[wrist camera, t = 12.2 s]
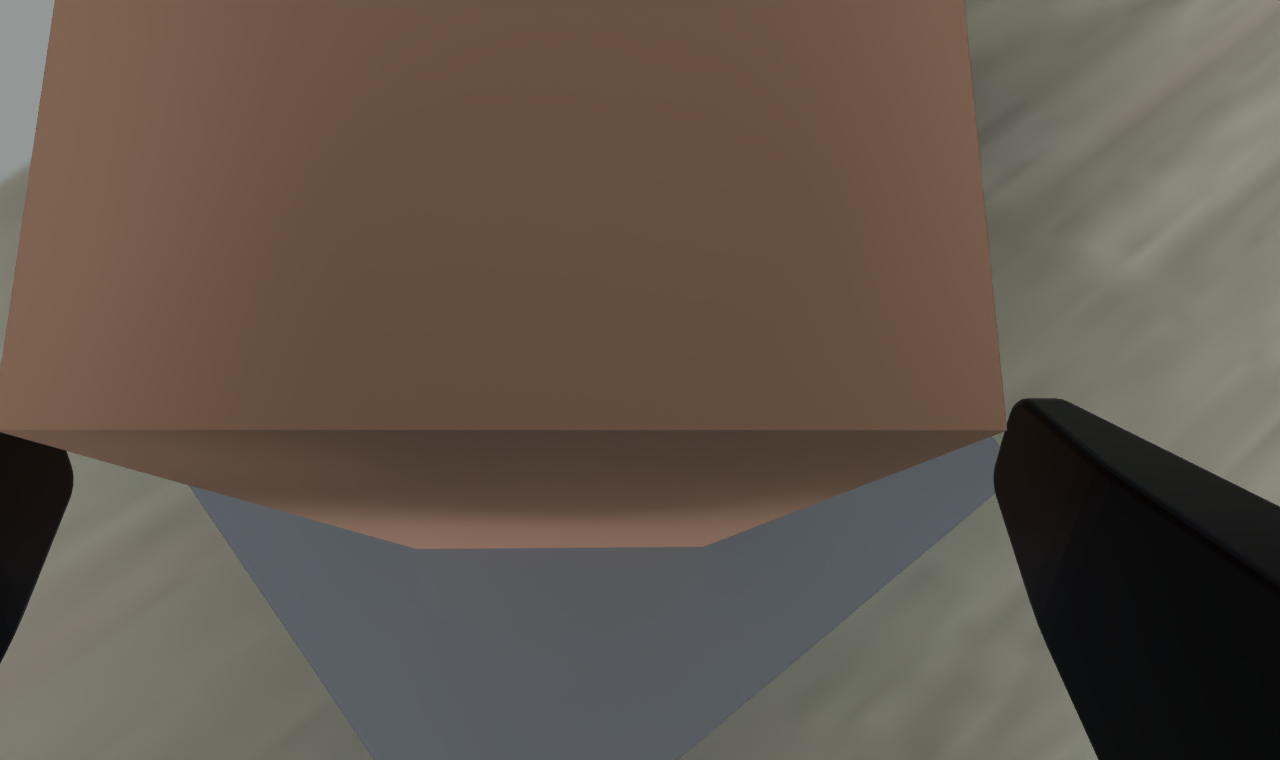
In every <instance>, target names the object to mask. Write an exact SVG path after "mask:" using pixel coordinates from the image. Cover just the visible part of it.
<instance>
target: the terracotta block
mask: <svg viewBox="0 0 1280 760" xmlns="http://www.w3.org/2000/svg"><path fill="white" fill-rule="evenodd" d="M1004 431H1007V424H1006V414H1005V404H1004V394H1003V384H1002V374H1001V364H1000V354H999V345H998V335H997V325H996V315H995V305H994V295H993V285H992V275H991V265H990V255H989V245H988V235H987V225H986V215H985V205H984V195H983V185H982V175H981V165H980V155H979V145H978V135H977V125H976V115H975V105H974V95H973V85H972V75H971V65H970V55H969V45H968V35H967V25H966V15H965V5H964V0H55V4H54V10H53V17H52V24H51V32H50V38H49V44H48V51H47V58H46V65H45V72H44V79H43V85H42V92H41V99H40V105H39V112H38V119H37V126H36V132H35V140H34V146H33V153H32V160H31V166H30V173H29V180H28V187H27V194H26V200H25V207H24V214H23V221H22V227H21V234H20V241H19V248H18V255H17V261H16V268H15V275H14V282H13V289H12V295H11V302H10V309H9V316H8V322H7V329H6V336H5V343H4V350H3V356H2V363H1V370H0V432H2V433H5V434H9V435H12V436H16V437H19V438H23V439H26V440H30V441H34V442H37V443H41V444H44V445H48V446H51V447H55V448H58V449H62V450H66V451H69V452H73V453H76V454H80V455H83V456H87V457H91V458H94V459H98V460H101V461H105V462H108V463H112V464H115V465H119V466H123V467H126V468H130V469H133V470H137V471H140V472H144V473H147V474H151V475H155V476H158V477H162V478H165V479H169V480H172V481H176V482H180V483H183V484H187V485H190V486H194V487H197V488H201V489H204V490H208V491H212V492H215V493H219V494H222V495H226V496H229V497H233V498H236V499H240V500H244V501H247V502H251V503H254V504H258V505H261V506H265V507H269V508H272V509H276V510H279V511H283V512H286V513H290V514H293V515H297V516H301V517H304V518H308V519H311V520H315V521H318V522H322V523H325V524H329V525H333V526H336V527H340V528H343V529H347V530H350V531H354V532H358V533H361V534H365V535H368V536H372V537H375V538H379V539H382V540H386V541H390V542H393V543H397V544H400V545H404V546H407V547H411V548H414V549H487V548H619V547H704V546H707V545H709V544H712V543H715V542H717V541H720V540H722V539H725V538H728V537H730V536H733V535H735V534H738V533H741V532H743V531H746V530H748V529H751V528H754V527H756V526H759V525H762V524H764V523H767V522H769V521H772V520H775V519H777V518H780V517H782V516H785V515H788V514H790V513H793V512H795V511H798V510H801V509H803V508H806V507H808V506H811V505H814V504H816V503H819V502H821V501H824V500H827V499H829V498H832V497H835V496H837V495H840V494H842V493H845V492H848V491H850V490H853V489H855V488H858V487H861V486H863V485H866V484H868V483H871V482H874V481H876V480H879V479H881V478H884V477H887V476H889V475H892V474H895V473H897V472H900V471H902V470H905V469H908V468H910V467H913V466H915V465H918V464H921V463H923V462H926V461H928V460H931V459H934V458H936V457H939V456H941V455H944V454H947V453H949V452H952V451H955V450H957V449H960V448H962V447H965V446H968V445H970V444H973V443H975V442H978V441H981V440H983V439H986V438H988V437H991V436H994V435H996V434H999V433H1001V432H1004Z"/></svg>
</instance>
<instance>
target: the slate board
mask: <svg viewBox="0 0 1280 760" xmlns="http://www.w3.org/2000/svg"><path fill="white" fill-rule="evenodd" d="M999 449H1000V446H999V445H998V444H997V443H996V441H995V440H994V439H993V438H992V437H988V438H986V439H983V440H981V441H978V442H975V443H973V444H970V445H968V446H965V447H962V448H960V449H957V450H955V451H952V452H949V453H947V454H944V455H941V456H939V457H936V458H934V459H931V460H928V461H926V462H923V463H921V464H918V465H915V466H913V467H910V468H908V469H905V470H902V471H900V472H897V473H895V474H892V475H889V476H887V477H884V478H881V479H879V480H876V481H874V482H871V483H868V484H866V485H863V486H861V487H858V488H855V489H853V490H850V491H848V492H845V493H842V494H840V495H837V496H835V497H832V498H829V499H827V500H824V501H821V502H819V503H816V504H814V505H811V506H808V507H806V508H803V509H801V510H798V511H795V512H793V513H790V514H788V515H785V516H782V517H780V518H777V519H775V520H772V521H769V522H767V523H764V524H762V525H759V526H756V527H754V528H751V529H748V530H746V531H743V532H741V533H738V534H735V535H733V536H730V537H728V538H725V539H722V540H720V541H717V542H715V543H712V544H709V545H707V546H704V547H619V548H487V549H414V548H411V547H407V546H404V545H400V544H397V543H393V542H390V541H386V540H382V539H379V538H375V537H372V536H368V535H365V534H361V533H358V532H354V531H350V530H347V529H343V528H340V527H336V526H333V525H329V524H325V523H322V522H318V521H315V520H311V519H308V518H304V517H301V516H297V515H293V514H290V513H286V512H283V511H279V510H276V509H272V508H269V507H265V506H261V505H258V504H254V503H251V502H247V501H244V500H240V499H236V498H233V497H229V496H226V495H222V494H219V493H215V492H212V491H208V490H204V489H201V488H197V487H194V486H190V485H189V486H190V488H191V489H192V491H193V492H194V494H195V495H196V497H197V498H198V500H199V501H200V503H201V504H202V506H203V507H204V508H205V510H206V511H207V513H208V514H209V516H210V517H211V519H212V520H213V522H214V523H215V525H216V526H217V528H218V529H219V531H220V532H221V534H222V535H223V537H224V538H225V540H226V541H227V542H228V544H229V545H230V547H231V548H232V550H233V551H234V553H235V554H236V556H237V557H238V559H239V560H240V562H241V563H242V565H243V566H244V568H245V569H246V571H247V572H248V574H249V575H250V576H251V578H252V579H253V581H254V582H255V584H256V585H257V587H258V588H259V590H260V591H261V593H262V594H263V596H264V597H265V599H266V600H267V602H268V603H269V605H270V606H271V608H272V609H273V610H274V612H275V613H276V615H277V616H278V618H279V619H280V621H281V622H282V624H283V625H284V627H285V628H286V630H287V631H288V633H289V634H290V636H291V637H292V639H293V640H294V642H295V643H296V644H297V646H298V647H299V649H300V650H301V652H302V653H303V655H304V656H305V658H306V659H307V661H308V662H309V664H310V665H311V667H312V668H313V670H314V671H315V673H316V674H317V676H318V677H319V678H320V680H321V681H322V683H323V684H324V686H325V687H326V689H327V690H328V692H329V693H330V695H331V696H332V698H333V699H334V701H335V702H336V704H337V705H338V707H339V708H340V710H341V711H342V712H343V714H344V715H345V717H346V718H347V720H348V721H349V723H350V724H351V726H352V727H353V729H354V730H355V732H356V733H357V735H358V736H359V738H360V739H361V741H362V742H363V744H364V745H365V746H366V748H367V749H368V751H369V752H370V754H371V755H372V757H373V758H374V760H677V759H679V758H680V757H681V756H682V755H683V754H685V753H686V752H687V751H688V750H689V749H691V748H692V747H693V746H694V745H695V744H697V743H698V742H699V741H700V740H701V739H703V738H704V737H705V736H706V735H707V734H708V733H710V732H711V731H712V730H713V729H714V728H716V727H717V726H718V725H719V724H720V723H722V722H723V721H724V720H725V719H726V718H728V717H729V716H730V715H731V714H732V713H734V712H735V711H736V710H737V709H738V708H739V707H741V706H742V705H743V704H744V703H745V702H747V701H748V700H749V699H750V698H751V697H753V696H754V695H755V694H756V693H757V692H759V691H760V690H761V689H762V688H763V687H765V686H766V685H767V684H768V683H769V682H770V681H772V680H773V679H774V678H775V677H776V676H778V675H779V674H780V673H781V672H782V671H784V670H785V669H786V668H787V667H788V666H790V665H791V664H792V663H793V662H794V661H796V660H797V659H798V658H799V657H800V656H801V655H803V654H804V653H805V652H806V651H807V650H809V649H810V648H811V647H812V646H813V645H815V644H816V643H817V642H818V641H819V640H821V639H822V638H823V637H824V636H825V635H827V634H828V633H829V632H830V631H831V630H832V629H834V628H835V627H836V626H837V625H838V624H840V623H841V622H842V621H843V620H844V619H846V618H847V617H848V616H849V615H850V614H852V613H853V612H854V611H855V610H856V609H858V608H859V607H860V606H861V605H862V604H863V603H865V602H866V601H867V600H868V599H869V598H871V597H872V596H873V595H874V594H875V593H877V592H878V591H879V590H880V589H881V588H883V587H884V586H885V585H886V584H887V583H889V582H890V581H891V580H892V579H893V578H894V577H896V576H897V575H898V574H899V573H900V572H902V571H903V570H904V569H905V568H906V567H908V566H909V565H910V564H911V563H912V562H914V561H915V560H916V559H917V558H918V557H919V556H921V555H922V554H923V553H924V552H925V551H927V550H928V549H929V548H930V547H931V546H933V545H934V544H935V543H936V542H937V541H939V540H940V539H941V538H942V537H943V536H945V535H946V534H947V533H948V532H949V531H950V530H952V529H953V528H954V527H955V526H956V525H958V524H959V523H960V522H961V521H962V520H964V519H965V518H966V517H967V516H968V515H970V514H971V513H972V512H973V511H974V510H976V509H977V508H978V507H979V506H980V505H981V504H983V503H984V502H985V501H986V500H987V499H989V498H990V497H991V496H992V495H993V494H995V490H994V483H993V474H994V467H995V463H996V460H997V456H998V453H999Z"/></svg>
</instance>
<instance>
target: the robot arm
mask: <svg viewBox="0 0 1280 760" xmlns="http://www.w3.org/2000/svg"><path fill="white" fill-rule="evenodd" d="M993 483H994V490H995V494H996V497H997V500H998V503H999V507H1000V510H1001V513H1002V516H1003V519H1004V522H1005V525H1006V528H1007V532H1008V535H1009V538H1010V541H1011V544H1012V547H1013V550H1014V554H1015V557H1016V560H1017V563H1018V566H1019V569H1020V572H1021V575H1022V579H1023V582H1024V585H1025V588H1026V591H1027V594H1028V597H1029V600H1030V603H1031V606H1032V609H1033V612H1034V615H1035V617H1036V620H1037V623H1038V626H1039V628H1040V630H1041V633H1042V635H1043V637H1044V640H1045V642H1046V645H1047V647H1048V649H1049V651H1050V654H1051V656H1052V658H1053V660H1054V662H1055V665H1056V667H1057V669H1058V671H1059V673H1060V676H1061V678H1062V680H1063V682H1064V685H1065V687H1066V689H1067V691H1068V693H1069V696H1070V698H1071V700H1072V702H1073V704H1074V707H1075V709H1076V711H1077V713H1078V715H1079V718H1080V720H1081V722H1082V724H1083V727H1084V729H1085V731H1086V733H1087V735H1088V738H1089V740H1090V742H1091V744H1092V746H1093V749H1094V751H1095V753H1096V755H1097V758H1098V760H1280V507H1279V506H1277V505H1275V504H1273V503H1271V502H1269V501H1267V500H1265V499H1263V498H1261V497H1259V496H1257V495H1255V494H1253V493H1251V492H1249V491H1247V490H1245V489H1243V488H1241V487H1239V486H1237V485H1235V484H1233V483H1231V482H1229V481H1227V480H1225V479H1223V478H1221V477H1219V476H1217V475H1215V474H1213V473H1211V472H1209V471H1207V470H1205V469H1203V468H1201V467H1199V466H1197V465H1195V464H1193V463H1191V462H1189V461H1187V460H1185V459H1183V458H1181V457H1179V456H1177V455H1175V454H1173V453H1171V452H1169V451H1166V450H1164V449H1162V448H1160V447H1158V446H1156V445H1154V444H1152V443H1150V442H1148V441H1146V440H1144V439H1142V438H1140V437H1138V436H1136V435H1134V434H1132V433H1130V432H1128V431H1126V430H1124V429H1122V428H1120V427H1118V426H1116V425H1114V424H1112V423H1110V422H1108V421H1106V420H1104V419H1102V418H1100V417H1098V416H1096V415H1094V414H1092V413H1090V412H1088V411H1086V410H1084V409H1082V408H1080V407H1078V406H1076V405H1074V404H1072V403H1070V402H1068V401H1065V400H1063V399H1057V398H1027V399H1022V400H1020V401H1019V402H1017V403H1016V404H1015V405H1014V407H1013V408H1012V410H1011V413H1010V415H1009V419H1008V422H1007V431H1005V432H1004V436H1003V439H1002V443H1001V446H1000V449H999V453H998V456H997V460H996V463H995V467H994V474H993ZM72 489H73V470H72V466H71V463H70V460H69V457H68V454H67V452H66V450H62V449H58V448H55V447H51V446H48V445H44V444H41V443H37V442H34V441H30V440H26V439H23V438H19V437H16V436H12V435H9V434H5V433H2V432H0V663H1V661H2V659H3V657H4V655H5V653H6V651H7V649H8V647H9V645H10V643H11V641H12V639H13V637H14V635H15V633H16V630H17V628H18V626H19V624H20V621H21V619H22V617H23V615H24V612H25V610H26V607H27V605H28V602H29V600H30V597H31V595H32V592H33V590H34V587H35V585H36V582H37V580H38V577H39V575H40V572H41V570H42V567H43V565H44V562H45V560H46V557H47V555H48V552H49V550H50V547H51V545H52V542H53V540H54V537H55V535H56V532H57V530H58V527H59V525H60V522H61V520H62V517H63V515H64V512H65V510H66V507H67V505H68V502H69V500H70V497H71V494H72Z"/></svg>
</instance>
